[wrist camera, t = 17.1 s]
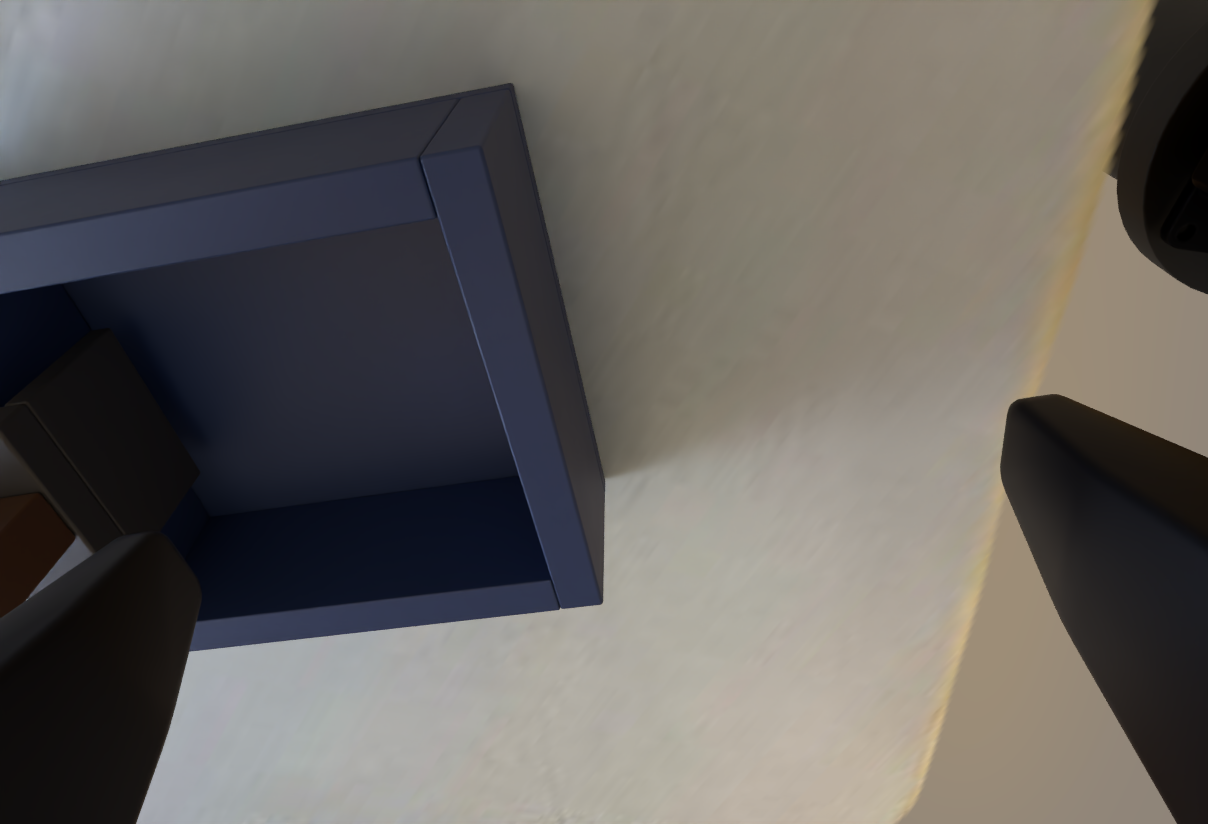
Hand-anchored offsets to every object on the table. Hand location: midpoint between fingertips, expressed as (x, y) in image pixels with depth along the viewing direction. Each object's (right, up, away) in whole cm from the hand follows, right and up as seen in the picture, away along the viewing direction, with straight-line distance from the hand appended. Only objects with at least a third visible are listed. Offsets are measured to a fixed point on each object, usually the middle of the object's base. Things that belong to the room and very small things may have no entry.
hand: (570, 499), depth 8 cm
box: (-8, +3, +14) cm, 16 cm away
